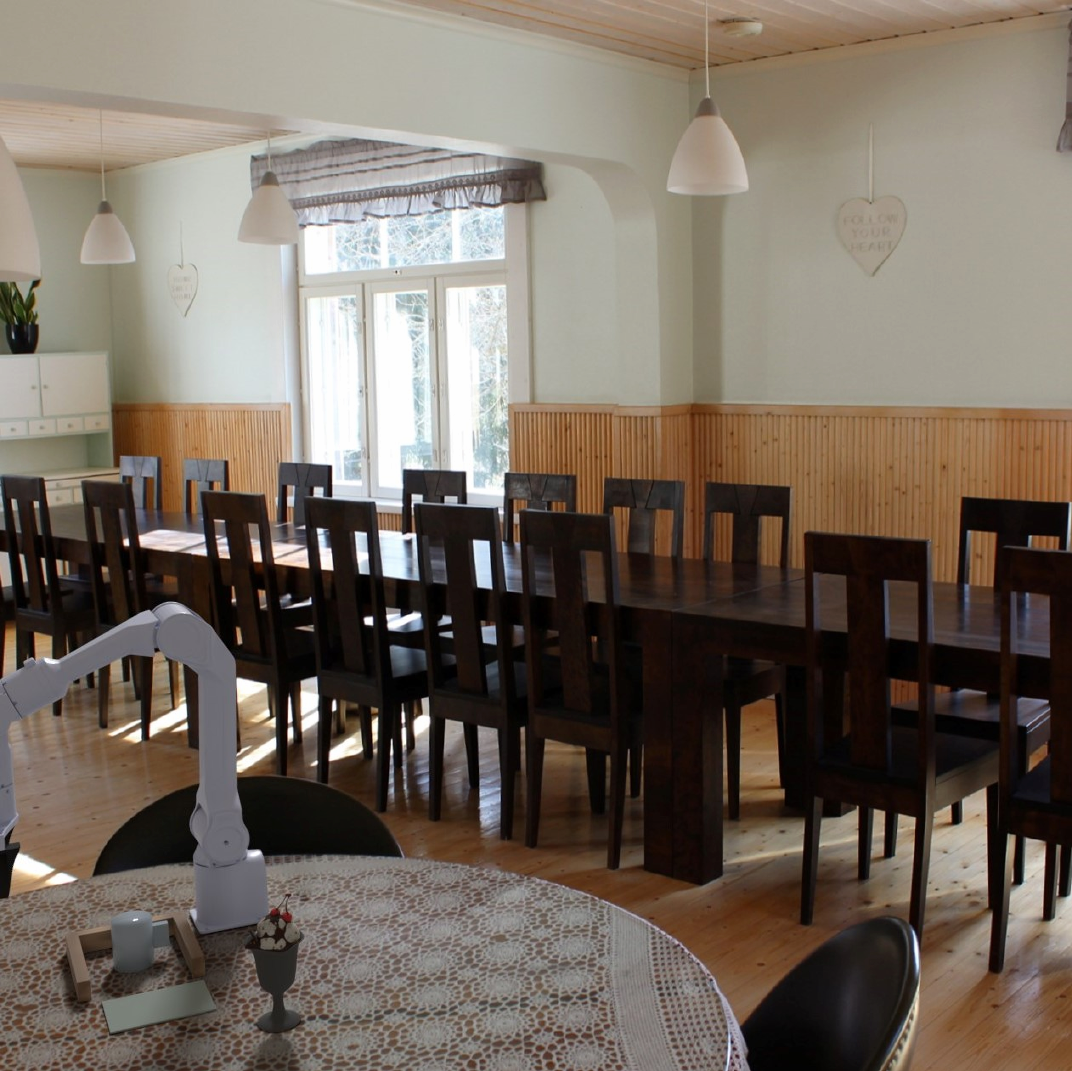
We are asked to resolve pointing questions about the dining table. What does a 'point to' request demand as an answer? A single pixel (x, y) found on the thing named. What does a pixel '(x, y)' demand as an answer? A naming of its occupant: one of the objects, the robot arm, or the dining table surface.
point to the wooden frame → (103, 940)
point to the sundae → (276, 964)
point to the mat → (157, 1006)
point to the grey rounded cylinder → (136, 940)
